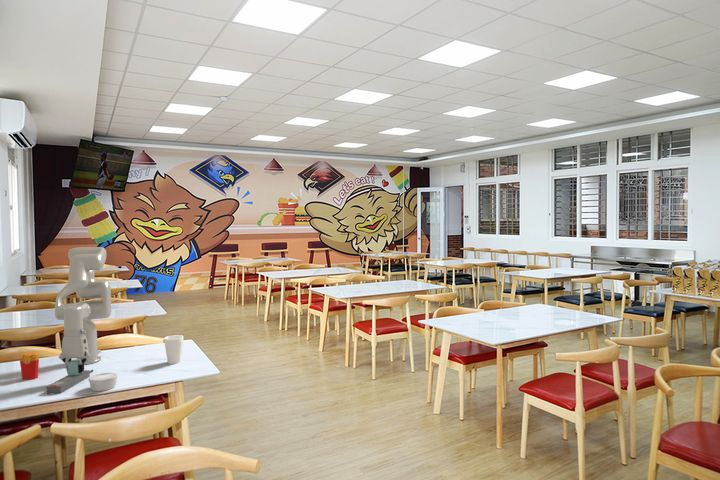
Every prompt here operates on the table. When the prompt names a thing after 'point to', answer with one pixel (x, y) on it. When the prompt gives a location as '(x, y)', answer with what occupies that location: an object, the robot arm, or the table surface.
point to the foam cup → (173, 348)
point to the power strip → (67, 382)
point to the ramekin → (103, 381)
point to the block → (73, 368)
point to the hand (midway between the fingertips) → (75, 372)
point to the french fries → (29, 365)
